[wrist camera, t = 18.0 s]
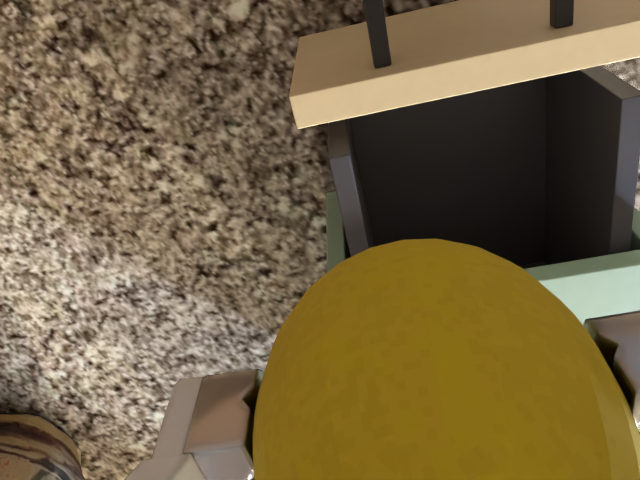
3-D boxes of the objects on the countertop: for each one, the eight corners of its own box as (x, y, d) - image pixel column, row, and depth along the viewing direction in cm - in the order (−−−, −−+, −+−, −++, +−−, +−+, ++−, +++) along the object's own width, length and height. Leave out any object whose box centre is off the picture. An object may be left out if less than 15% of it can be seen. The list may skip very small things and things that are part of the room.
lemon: (574, 295, 12) (892, 810, 5) (371, 398, 14) (414, 876, 7) (443, 104, 10) (718, 595, 3) (221, 261, 12) (76, 777, 5)
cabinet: (326, 192, 31) (326, 315, 22) (573, 144, 29) (684, 256, 20) (373, 389, 40) (388, 535, 31) (566, 361, 38) (641, 506, 29)
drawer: (271, -81, 23) (246, -68, 15) (577, -161, 21) (713, -190, 14) (358, 291, 34) (367, 404, 26) (565, 255, 32) (638, 365, 25)
